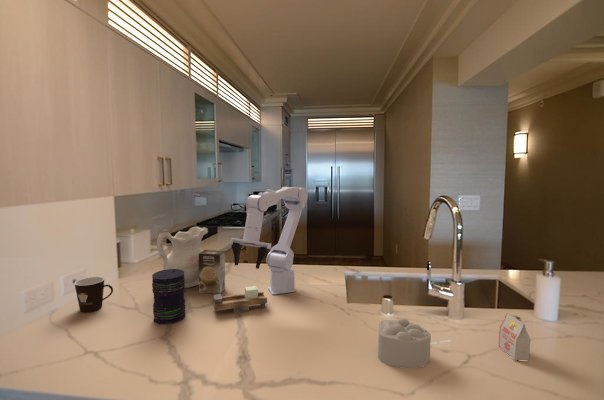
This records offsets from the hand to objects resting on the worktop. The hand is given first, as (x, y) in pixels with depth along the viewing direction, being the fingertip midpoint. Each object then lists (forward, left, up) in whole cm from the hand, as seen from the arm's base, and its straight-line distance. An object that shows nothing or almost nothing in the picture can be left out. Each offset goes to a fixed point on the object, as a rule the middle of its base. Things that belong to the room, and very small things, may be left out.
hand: (246, 266), depth 109 cm
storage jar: (+25, -2, -15) cm, 30 cm away
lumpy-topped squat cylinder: (-34, +42, -15) cm, 56 cm away
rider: (-2, -1, -12) cm, 12 cm away
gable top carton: (-63, +51, -15) cm, 83 cm away
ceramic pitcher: (+20, -33, -15) cm, 42 cm away
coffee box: (+10, -21, -15) cm, 28 cm away
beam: (+2, -1, -15) cm, 15 cm away
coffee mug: (+50, -17, -15) cm, 55 cm away
